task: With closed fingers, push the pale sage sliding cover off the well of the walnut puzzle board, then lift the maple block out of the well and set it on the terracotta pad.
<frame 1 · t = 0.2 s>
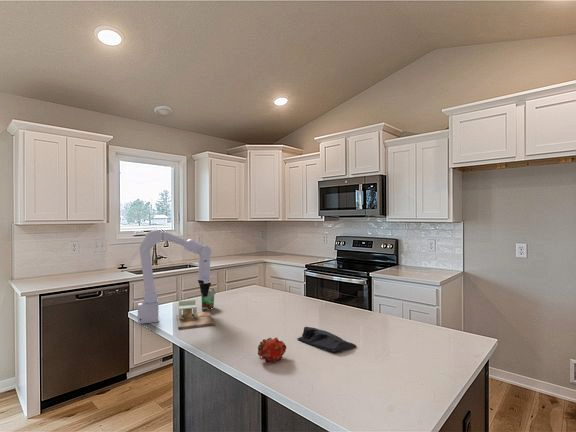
hand: (204, 295, 170), 10 cm above the countertop, tool pointing down, fingers open, 7 cm apart
sliding cover: (187, 308, 163), point 5 cm above the countertop, slide at 0.0 cm
charcoal beanbag: (326, 344, 131), on the countertop
food container: (209, 308, 182), on the countertop
puzzle board: (194, 320, 159), on the countertop
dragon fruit: (272, 360, 116), on the countertop
maple block: (187, 318, 163), resting in puzzle board
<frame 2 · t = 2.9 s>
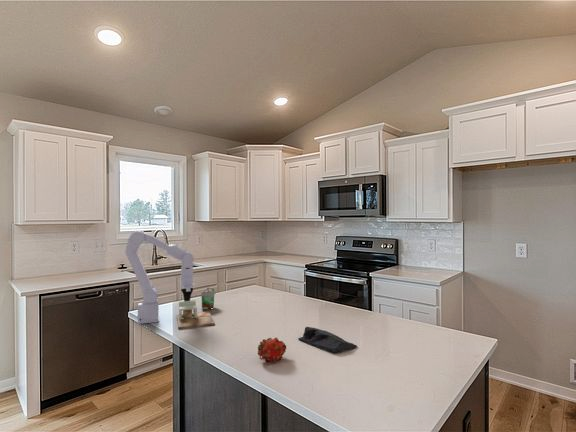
hand: (187, 302, 166), 7 cm above the countertop, tool pointing down, fingers closed
sliding cover: (187, 309, 162), point 5 cm above the countertop, slide at 1.2 cm, touching gripper
everything else where it was.
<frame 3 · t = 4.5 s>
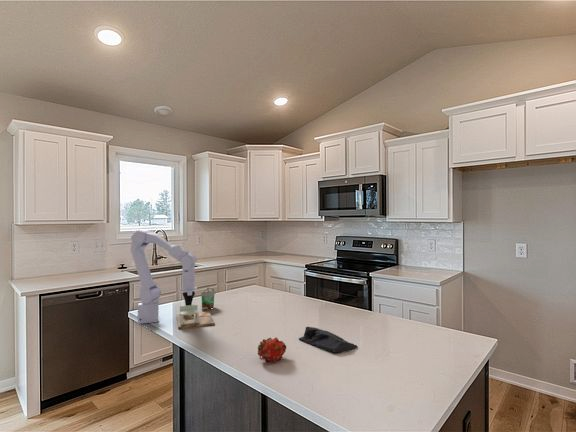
hand: (188, 307, 158), 7 cm above the countertop, tool pointing down, fingers closed
sliding cover: (189, 314, 154), point 5 cm above the countertop, slide at 10.0 cm, touching gripper
everything else where it was.
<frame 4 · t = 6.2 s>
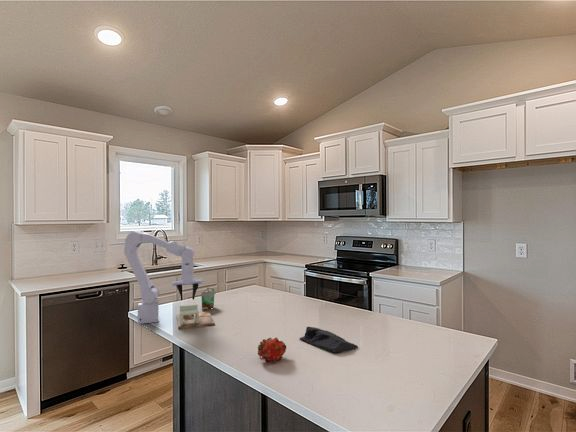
hand: (187, 299, 163), 9 cm above the countertop, tool pointing down, fingers open, 5 cm apart
sliding cover: (189, 314, 154), point 5 cm above the countertop, slide at 10.0 cm
everything else where it was.
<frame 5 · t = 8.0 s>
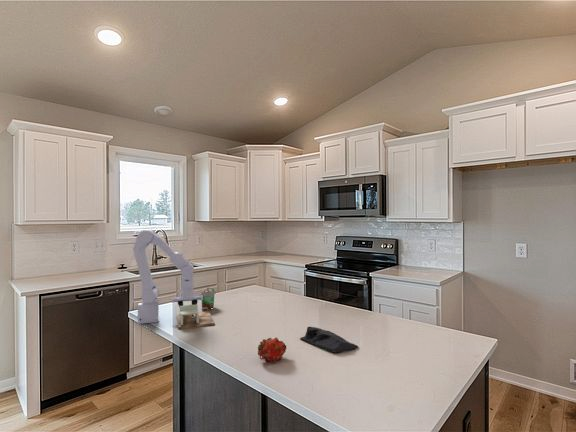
hand: (187, 315, 163), 1 cm above the countertop, tool pointing down, fingers closed on maple block, 4 cm apart
maple block: (187, 318, 163), resting in puzzle board, touching gripper
everything else where it was.
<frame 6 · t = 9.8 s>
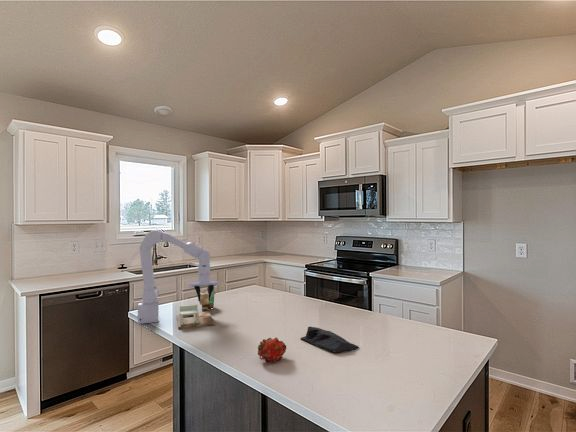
hand: (204, 300, 166), 8 cm above the countertop, tool pointing down, fingers closed on maple block, 4 cm apart
maple block: (204, 303, 166), point 7 cm above the countertop, touching gripper
when the fingers open (4 cm above the countertop, at t = 10.9 s): maple block stays where it is, resting on puzzle board.
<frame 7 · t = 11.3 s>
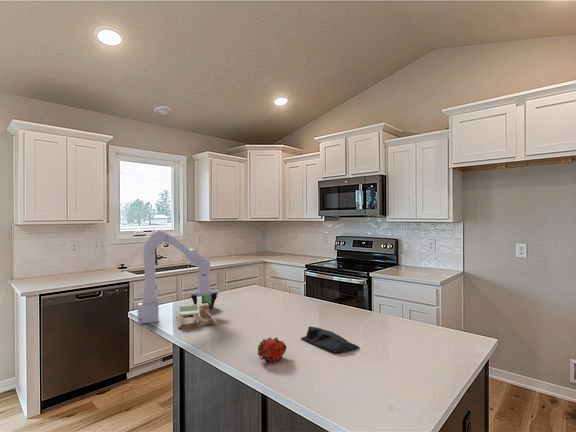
hand: (204, 309, 166), 4 cm above the countertop, tool pointing down, fingers open, 7 cm apart
maple block: (204, 314, 166), point 1 cm above the countertop, touching puzzle board
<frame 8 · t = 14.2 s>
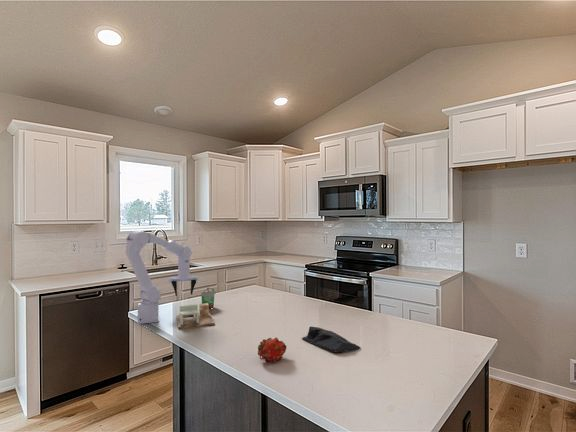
hand: (183, 294, 173), 9 cm above the countertop, tool pointing down, fingers open, 7 cm apart
at the end: sliding cover slide at 10.0 cm; maple block 0.0 cm from the target spot, point 1.2 cm above the countertop; maple block tilted 0° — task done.
